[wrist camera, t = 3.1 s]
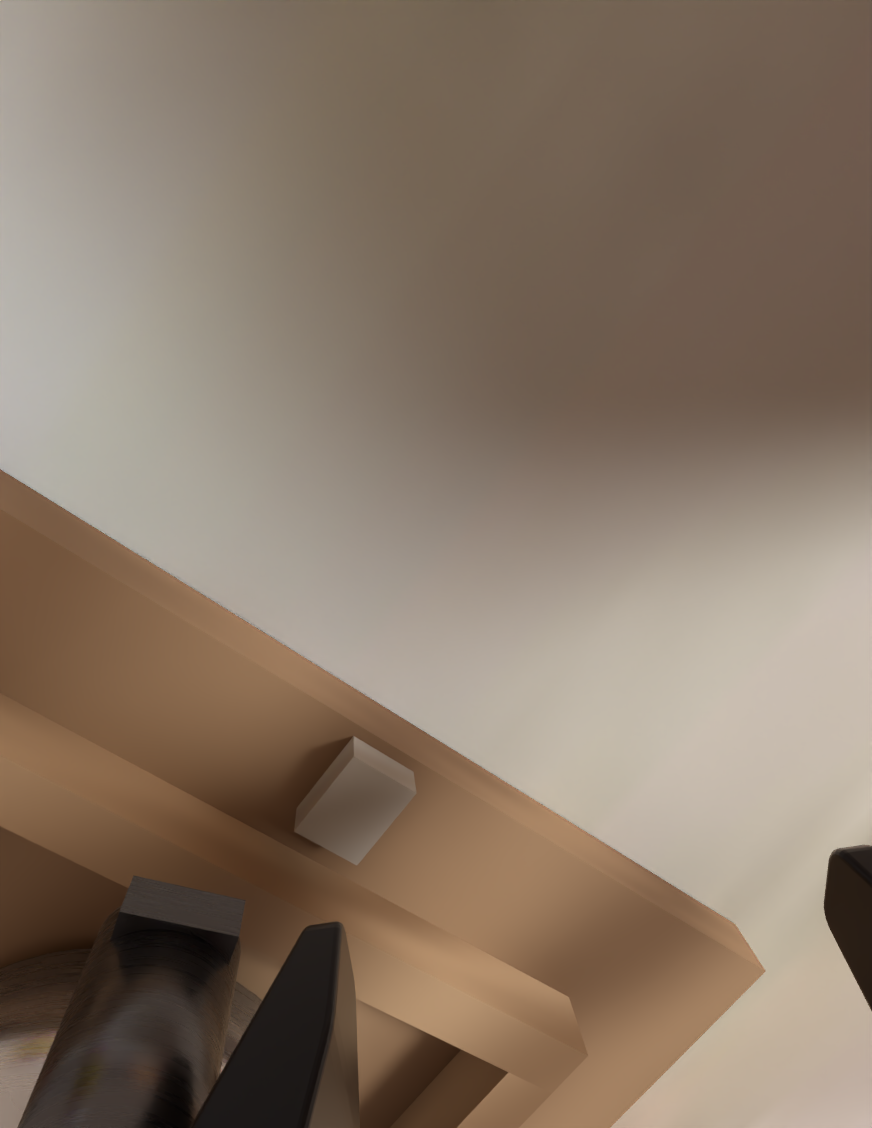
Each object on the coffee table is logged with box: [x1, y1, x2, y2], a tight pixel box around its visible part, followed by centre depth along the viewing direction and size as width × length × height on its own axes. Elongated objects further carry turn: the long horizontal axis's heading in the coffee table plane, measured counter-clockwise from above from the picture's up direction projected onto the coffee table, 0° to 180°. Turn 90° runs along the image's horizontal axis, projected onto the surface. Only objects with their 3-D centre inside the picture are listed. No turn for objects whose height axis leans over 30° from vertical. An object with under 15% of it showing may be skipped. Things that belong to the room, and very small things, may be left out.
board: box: [0, 470, 765, 1128], centre depth 13 cm, size 20×15×2 cm
